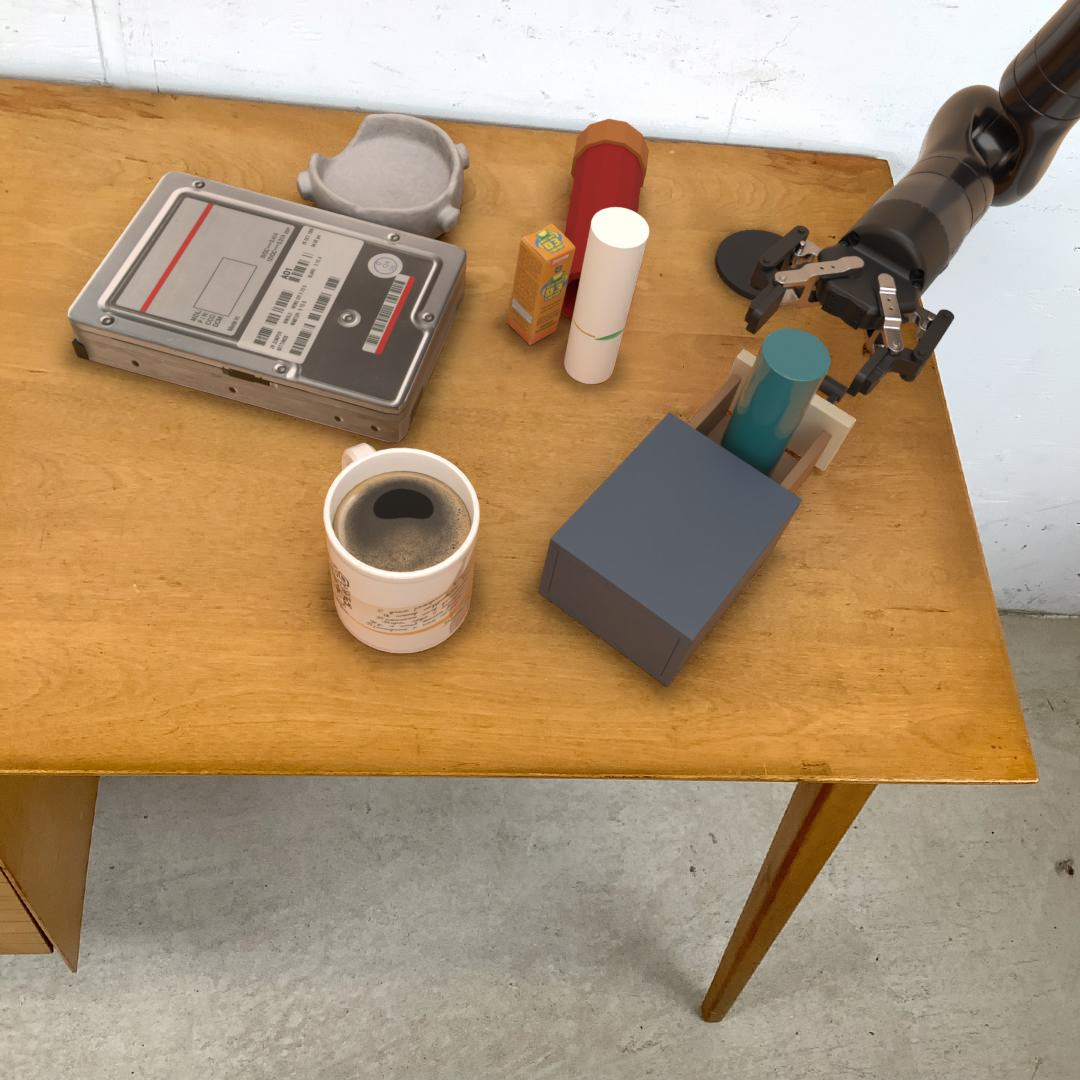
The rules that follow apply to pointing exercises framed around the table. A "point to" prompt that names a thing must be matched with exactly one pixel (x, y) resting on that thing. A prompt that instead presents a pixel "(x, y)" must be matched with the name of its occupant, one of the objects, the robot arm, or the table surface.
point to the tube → (605, 293)
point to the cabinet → (665, 546)
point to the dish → (392, 176)
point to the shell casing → (601, 186)
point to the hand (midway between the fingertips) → (802, 355)
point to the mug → (401, 546)
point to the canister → (775, 397)
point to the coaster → (744, 258)
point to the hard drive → (273, 305)
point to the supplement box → (540, 283)
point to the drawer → (812, 437)
